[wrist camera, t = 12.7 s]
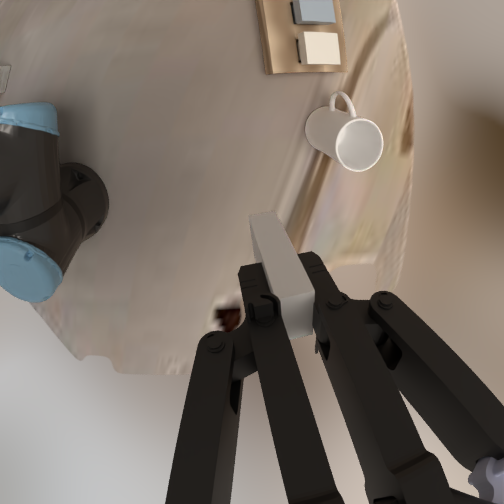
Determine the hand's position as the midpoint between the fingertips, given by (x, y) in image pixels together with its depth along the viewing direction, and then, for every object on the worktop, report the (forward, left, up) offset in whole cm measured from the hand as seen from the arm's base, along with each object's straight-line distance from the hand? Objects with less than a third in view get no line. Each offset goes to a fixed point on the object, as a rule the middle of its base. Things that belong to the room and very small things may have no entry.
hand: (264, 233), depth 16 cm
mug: (+18, 0, -33) cm, 37 cm away
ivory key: (+14, +12, -30) cm, 35 cm away
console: (+14, +19, -32) cm, 40 cm away
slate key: (+14, +19, -30) cm, 38 cm away
